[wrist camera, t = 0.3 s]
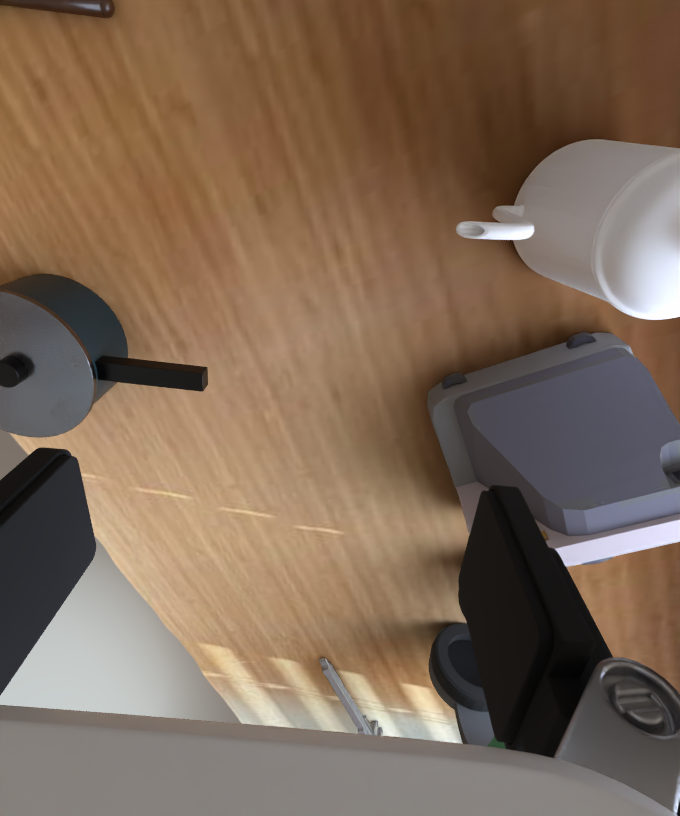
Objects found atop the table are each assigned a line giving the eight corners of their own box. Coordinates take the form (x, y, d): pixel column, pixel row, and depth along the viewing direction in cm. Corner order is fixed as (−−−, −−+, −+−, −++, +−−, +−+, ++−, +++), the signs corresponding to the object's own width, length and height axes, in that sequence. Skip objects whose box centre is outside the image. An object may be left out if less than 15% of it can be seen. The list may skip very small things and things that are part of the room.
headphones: (461, 541, 58) (506, 708, 41) (545, 556, 59) (625, 727, 41) (419, 637, 67) (440, 809, 49) (492, 650, 68) (539, 823, 50)
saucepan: (-23, 261, 44) (-107, 284, 36) (220, 289, 44) (189, 318, 37) (10, 392, 51) (-55, 435, 43) (222, 415, 51) (196, 463, 43)
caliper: (382, 726, 78) (384, 770, 72) (376, 728, 78) (378, 771, 73) (325, 655, 70) (322, 698, 64) (318, 657, 70) (315, 700, 65)
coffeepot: (431, 129, 38) (486, 107, 21) (742, 149, 38) (1045, 142, 21) (413, 267, 43) (447, 336, 26) (687, 285, 43) (895, 366, 26)
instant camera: (442, 515, 56) (467, 625, 43) (420, 357, 47) (443, 436, 34) (629, 490, 54) (717, 599, 40) (645, 317, 44) (766, 386, 31)
